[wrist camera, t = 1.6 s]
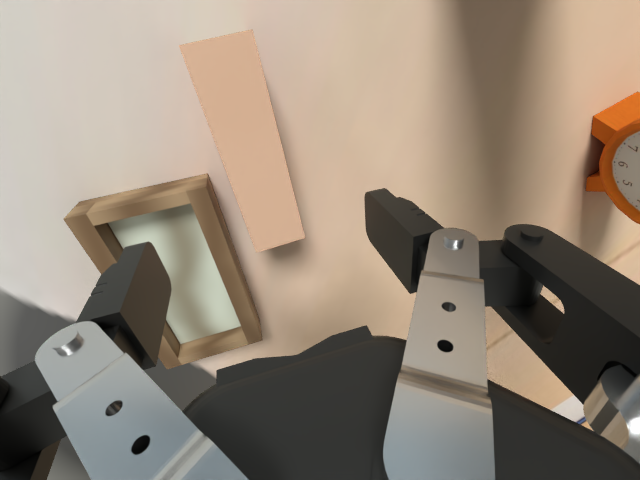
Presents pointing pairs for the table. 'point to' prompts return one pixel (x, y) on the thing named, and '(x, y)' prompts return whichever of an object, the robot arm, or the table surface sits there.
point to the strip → (246, 134)
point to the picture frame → (177, 262)
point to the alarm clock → (619, 155)
